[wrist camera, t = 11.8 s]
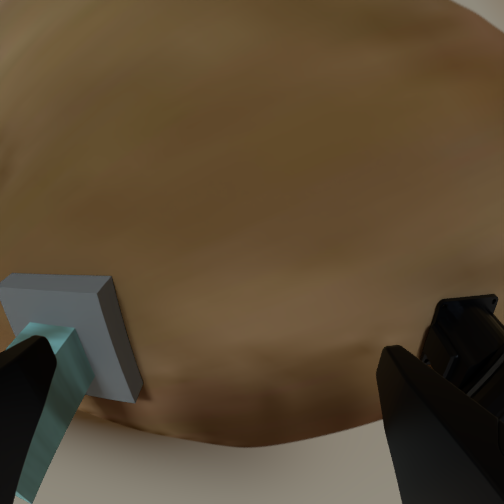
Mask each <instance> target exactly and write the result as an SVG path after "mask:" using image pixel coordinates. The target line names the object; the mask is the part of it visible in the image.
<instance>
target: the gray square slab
mask: <svg viewBox="0 0 504 504" xmlns="http://www.w3.org/2000/svg"><path fill="white" fill-rule="evenodd" d="M0 301H1V303H2V306H3V308H4V311H5V313H6V316H7V318H8V320H9V323H10V325H11V327H12V330H13V332H14V334H15V336H16V337H17V336H18V335H19V334H20V332H21V331H22V330H23V329H24V328H25V327H26V326H27V325H28V324H29V323H30V322H32V323H40V324H47V325H55V326H63V327H72V328H75V329H76V332H77V334H78V337H79V339H80V342H81V344H82V347H83V349H84V352H85V354H86V356H87V359H88V361H89V363H90V366H91V368H92V370H93V372H94V375H95V377H94V379H93V381H92V383H91V384H90V386H89V388H88V390H87V392H86V394H85V395H90V396H95V397H100V398H105V399H111V400H117V401H123V402H129V403H136V400H137V398H138V395H139V393H140V390H141V388H142V385H143V382H142V379H141V376H140V373H139V370H138V367H137V364H136V361H135V358H134V355H133V352H132V349H131V346H130V342H129V339H128V336H127V333H126V329H125V326H124V322H123V319H122V315H121V312H120V308H119V304H118V300H117V296H116V293H115V289H114V285H113V280H112V276H85V275H48V274H20V273H11V274H10V275H9V276H8V277H6V278H5V279H4V280H3V281H2V282H0Z"/></svg>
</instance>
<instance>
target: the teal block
mask: <svg viewBox="0 0 504 504" xmlns="http://www.w3.org/2000/svg"><path fill="white" fill-rule="evenodd" d="M33 335H39V336H44V337H46V338H47V339H48V341H49V343H50V345H51V347H52V349H53V352H54V354H55V356H56V358H57V367H56V370H55V373H54V376H53V379H52V383H51V386H50V389H49V392H48V396H47V399H46V403H45V406H44V409H43V412H42V415H41V417H40V420H39V422H38V425H37V428H36V431H35V433H34V436H33V439H32V442H31V445H30V448H29V451H28V454H27V457H26V460H25V463H24V466H23V469H22V473H21V476H20V479H19V483H18V487H17V490H16V494H15V495H16V496H17V497H19V498H21V499H23V500H25V501H27V502H29V503H31V504H32V503H33V501H34V499H35V496H36V494H37V491H38V489H39V487H40V485H41V483H42V480H43V478H44V476H45V474H46V471H47V469H48V467H49V465H50V463H51V461H52V459H53V457H54V454H55V452H56V450H57V448H58V446H59V444H60V442H61V440H62V438H63V436H64V434H65V432H66V430H67V428H68V426H69V424H70V422H71V420H72V418H73V416H74V414H75V412H76V411H77V409H78V407H79V405H80V403H81V401H82V399H83V397H84V395H85V394H86V392H87V390H88V388H89V386H90V384H91V383H92V381H93V379H94V377H95V375H94V372H93V370H92V368H91V366H90V363H89V361H88V359H87V356H86V354H85V352H84V349H83V347H82V344H81V342H80V339H79V337H78V334H77V332H76V329H75V328H72V327H63V326H55V325H47V324H40V323H32V322H30V323H29V324H28V325H27V326H26V327H25V328H24V329H23V330H22V331H21V332H20V334H19V335H18V336H17V337H16V338H15V339H14V340H13V342H12V343H11V344H10V345H9V346H8V347H7V349H8V348H10V347H12V346H14V345H16V344H18V343H20V342H22V341H24V340H25V339H27V338H29V337H31V336H33ZM7 349H6V350H7Z"/></svg>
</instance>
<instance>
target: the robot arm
mask: <svg viewBox="0 0 504 504" xmlns="http://www.w3.org/2000/svg"><path fill="white" fill-rule="evenodd" d="M497 302H498V297H497V296H496V295H495V294H489V295H480V296H470V297H460V298H449V299H442V300H441V301H440V302H439V303H438V305H437V309H436V312H435V315H434V319H433V322H432V325H431V327H430V330H429V333H428V336H427V339H426V342H425V345H424V348H423V352H422V355H421V358H420V359H418V358H417V357H415V356H414V355H413V354H411V353H410V352H409V351H407V350H406V349H405V348H403V347H402V346H400V345H393V346H386V347H384V348H383V350H382V353H381V357H380V361H379V364H378V368H377V372H376V379H377V385H378V391H379V397H380V403H381V410H382V416H383V422H384V429H385V434H386V437H387V441H388V445H389V449H390V453H391V457H392V461H393V465H394V469H395V473H396V478H397V482H398V486H399V491H400V495H401V500H402V504H504V325H503V324H502V323H501V322H500V321H499V320H498V319H497V317H496V316H495V315H494V314H493V313H494V310H495V308H496V305H497ZM443 305H445V306H444V307H443ZM428 364H431V366H432V367H433V369H434V370H433V369H432V368H430V367H429V366H428ZM56 367H57V358H56V356H55V354H54V352H53V349H52V347H51V345H50V343H49V341H48V339H47V338H46V337H44V336H39V335H33V336H31V337H29V338H27V339H25V340H24V341H22V342H20V343H18V344H16V345H14V346H12V347H10V348H8V349H7V350H5V351H3V352H1V353H0V504H13V502H14V498H15V494H16V490H17V487H18V483H19V479H20V476H21V473H22V469H23V466H24V463H25V460H26V457H27V454H28V451H29V448H30V445H31V442H32V439H33V436H34V433H35V431H36V428H37V425H38V422H39V420H40V417H41V415H42V412H43V409H44V406H45V403H46V399H47V396H48V392H49V389H50V386H51V383H52V379H53V376H54V373H55V370H56Z"/></svg>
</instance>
